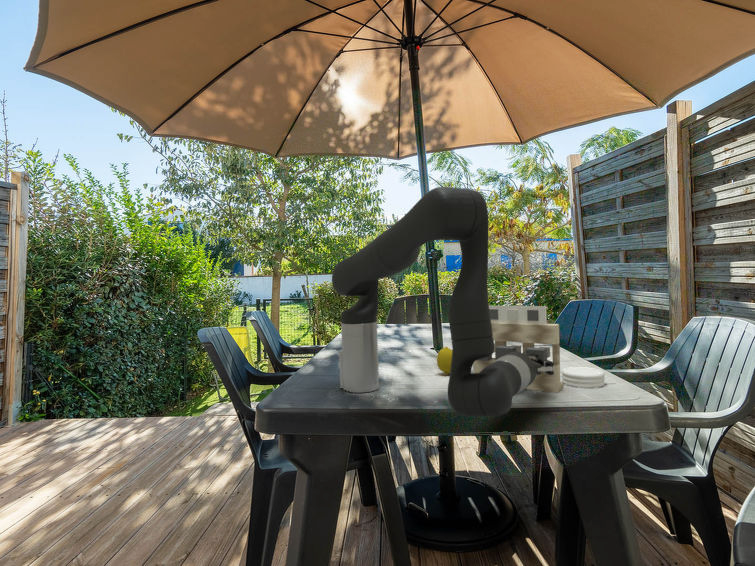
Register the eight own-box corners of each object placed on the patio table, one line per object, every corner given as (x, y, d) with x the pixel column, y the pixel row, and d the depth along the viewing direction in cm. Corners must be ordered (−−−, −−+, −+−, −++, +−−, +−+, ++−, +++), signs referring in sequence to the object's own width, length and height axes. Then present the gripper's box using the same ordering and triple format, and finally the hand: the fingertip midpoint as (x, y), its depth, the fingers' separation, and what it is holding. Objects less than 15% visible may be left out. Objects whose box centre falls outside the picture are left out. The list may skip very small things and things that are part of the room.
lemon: (456, 376, 127) (455, 348, 127) (436, 376, 128) (435, 348, 128) (457, 372, 132) (456, 345, 132) (438, 372, 133) (437, 345, 133)
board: (473, 383, 119) (472, 322, 119) (482, 378, 124) (480, 320, 124) (557, 392, 108) (556, 325, 107) (563, 387, 112) (561, 322, 112)
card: (481, 322, 118) (481, 305, 118) (483, 322, 119) (482, 305, 118) (545, 324, 109) (545, 306, 109) (546, 324, 110) (546, 306, 109)
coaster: (555, 385, 115) (555, 371, 115) (570, 377, 123) (570, 364, 122) (597, 391, 108) (596, 376, 108) (610, 383, 116) (610, 369, 116)
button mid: (496, 364, 109) (495, 347, 109) (509, 356, 117) (508, 341, 117) (512, 365, 107) (512, 348, 107) (525, 358, 115) (524, 342, 115)
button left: (472, 359, 115) (472, 344, 115) (486, 353, 123) (486, 338, 123) (487, 361, 113) (487, 345, 113) (501, 354, 121) (500, 339, 121)
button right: (526, 366, 105) (525, 349, 105) (537, 358, 114) (537, 342, 113) (543, 368, 103) (543, 350, 103) (554, 360, 111) (553, 343, 111)
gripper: (545, 357, 86) (565, 344, 100) (478, 352, 93) (506, 340, 108) (545, 397, 86) (565, 377, 100) (479, 388, 94) (506, 372, 108)
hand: (534, 358), depth 104 cm, fingers closed
